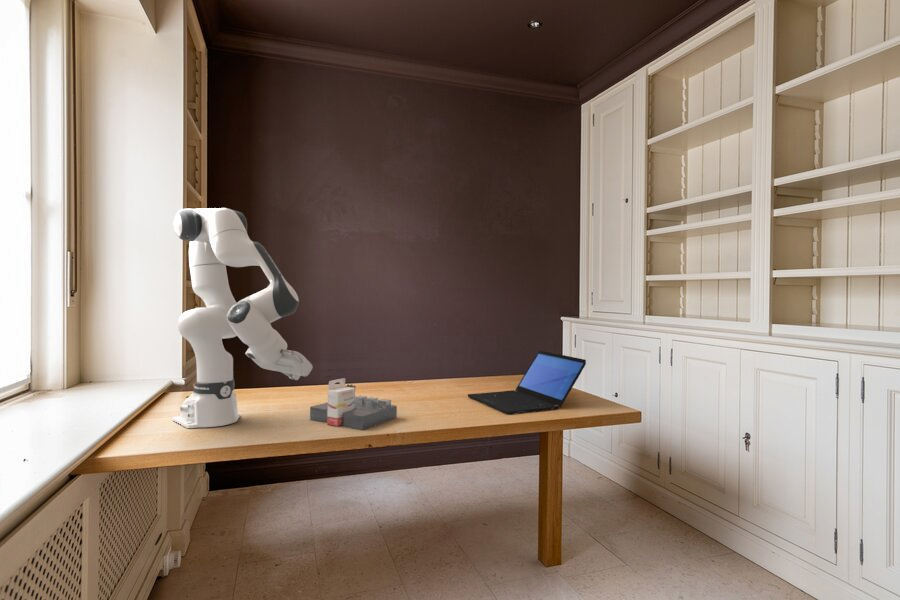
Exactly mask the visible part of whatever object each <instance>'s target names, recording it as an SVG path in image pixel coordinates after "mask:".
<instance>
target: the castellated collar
mask: <svg viewBox="0 0 900 600" xmlns="http://www.w3.org/2000/svg"><path fill="white" fill-rule="evenodd" d="M397 409H398V407H397V405H393V404H392V399H386V398H382V399H379V397H373V396H370V397H369V396H367V395H361V394H360V395H355V407H354V410H351V411H348V412H344V413H343V425H342V427H344V426H345V428H349V427H350V428H349V429H355V430H358V431H359V430H360V431H364V430H367V429H368V430H369V429H370V427H371V428H373V427H376V426H379V425H382V424H385V423H388V422H390V421H389V420H391V421H393V420H392V419H394V420H396V419H395V418H397V417H398V416H397V414H398V412H397ZM327 410H328V401H327V402H323V403H320V404H316V405H312V406H310V408H309V420H310V421H316V422H319V423H325V424H327ZM387 421H388V422H387ZM384 422H385V423H384ZM381 423H382V424H381ZM378 424H379V425H378ZM375 425H376V426H375Z"/></svg>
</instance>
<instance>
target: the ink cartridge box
mask: <svg viewBox="0 0 900 600" xmlns="http://www.w3.org/2000/svg"><path fill="white" fill-rule="evenodd" d="M337 383H338V384H337ZM345 386H346V378H345V377H344V378H337V379H334V380H333V379H332V380H329V381H328V388H327V389H328V390H327V402H328V410H327V423H326V424H327V425H328V426H333V427H337V426H338V427H340V425H341V426H343V413H344V412H348V411H351V410H354V407H355V397H356V394H355V393H356V388H352V387H347V386H346V387H345Z"/></svg>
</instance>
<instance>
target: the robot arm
mask: <svg viewBox="0 0 900 600" xmlns="http://www.w3.org/2000/svg"><path fill="white" fill-rule="evenodd" d="M173 219H174V220H173V227H174V232H175V234H176V236H177V237H178V239H180V240H182V241H184V242H189V245H188V246H189V247H188V263H189V266H188V267H189V271H190V281H191V288H192V291H193V293H194V294H195V295H196V296H198V297H199V298H200V299H201V300H202V301H203V303H204V305H205V307H195V308H192V309H189V310H186V311H184V312H183V313H182V314H181V315H180V316H179V317H178V321H177V328H178V332H179V334H180V336H182V338H184V339H185V340H186V341H187V342H189V344H190V346H191V348H192V350H193V353H194V356H195V360H196V361H195V363H196V364H195V365H196V381H195V382H193V384H192V387H193V390H192V393H191V394H190V395H188V397H187V398H186V399H185V400H183V401H182V402H181V404H180V405H181V406H179V407H180V409H179V410H180V414H179V415H175V416H174V417H172V421H173V420H174V421H175V423H176V422H177V423H176V424H178V423H179V424H178V425H180V424H181V425H180V426H182V427H184V428H187V429H196V428H197V429H198V428H215V427H216V428H217V427H222V426H226V425H231V424H234V423H236V422H237V421H239V418H241V413H240V412H239V410H238V400H237V394H236V393H235V384H236V383H235V379H234V357H233V355H232V354H231V353H230V352H229V351H227V350H226V349H225V347H224V344H223V339H232V338H235V337H238V339H239V340H240V341H241V342H242V343H243V344H245V345H247V346H248V348H247V350H246V351H245V353H244V354H245V355H246V356H247V357H248V358H250V359H251V360H252V361H253V362H254V363H255V364H256V365H257V366H259V367H260V368H262V369H264V370H269V371H275V372H280V373H282V374H283V375H285V376H287V377H288V378H289V379H290V380H295V381H298V380H299V379H300V377H308V376H309V375H310V373H311V371H312V370H313V364H312V363H311V362H310V361H309V360H308V359H307V358H306V357H305V355H303V354H302V353H300V352H299V351H296V350H289V349H288V343H287V341H286V340H285V339H284V338H283V337H282V335H281V334H280V333H279V332H278V331H277V330H276V329H274V328H273V327H272V324H271V323H274V322H275V321H277V320H280V319H281V318H285V317H287V316H290V315H293V314H294V313H295V312H297V308H298V307H299V303H300V299H299V296H298V294H297V292H296V291H295V288H293V286H292V285H290V283H289V282H288V280H287V279H286V277H285V275H284V274H283V273H282V271H281V269H280V268H279V266H278V264H277V263H276V261H275V260H274V258H273V257H272V255H271V254H270V253H269V251H268V250H267V249H266V248H265V246H264V245H262V244H261V243H260V242H259V241H253V240H251V239H250V236H249V235H248V222H247V218H246V216H245V215H244V213H243V212H241V211H238V210H234V209H231V208H227V207H221V208H220V207H219V208H216V207H214V208H212V207H211V208H210V207H209V208H192V207H191V208H190V207H189V208H181V209H179V210H178V211H177V212H176V213H175V215H174V218H173ZM227 266H229V267H233V268H245V267H251V266H258V267H260V268H261V270H262V271H263V273H264V275H265V277H266V278H267V280H268V281H269V284H268V285H267V287H266V288H264V289H262V290H260V291H257V292H256V293H253V294H251V295H248V296H246V297H244V298H242V299H240V300H239V301H238V302H237V301H236V300H235V297H234V296H233V293H232V291H231V287H230V284H229V278H228V273H227ZM174 421H173V422H174Z"/></svg>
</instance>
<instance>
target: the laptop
mask: <svg viewBox="0 0 900 600" xmlns="http://www.w3.org/2000/svg"><path fill="white" fill-rule="evenodd" d="M586 364H587V360H586V359H584V358H579V357H574V356H570V355H569V356H568V355H563V354H559V353H554V352H549V351H543V350H539V351H538V352H537V354H536V355H535V356H534V359H533V360H532V362H531V363H530V365H529V367H528V368H527V370H526V371H525V373H524V375H523V376H522V378H521V380H520V382H519V383H518V384H517V386H516V388H515V390H514V389H512V390H504V391H503V390H502V391H491V392H481V393H480V392H479V393H478V392H477V393H468V394H467V397H468V398H470V399H472V400H474V399H475V400H474V401H477V402H479V403H481V404H483V403H484V404H483V405H485V404H486V406H487V407H490V408H492V409H494V410H496V409H497V411H498V410H499V412H501V413H503V414H505V415H515V414H514V413H519V414H523V413H524V412H527V413H534V412H533V411H536V412H543V411H542V410H545V411H552V410H551V409H554V410H558V409H559V408H561V407H562V406H563V404H564V402H565V400H566V399H567V397H568V396H569V394H570V392H571V390H572V389H573V387H574V386H575V383H576V382H577V380H578V379H579V377H580V375H581V374H582V371H583V370H584V368H585V366H586ZM524 414H525V413H524Z"/></svg>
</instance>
